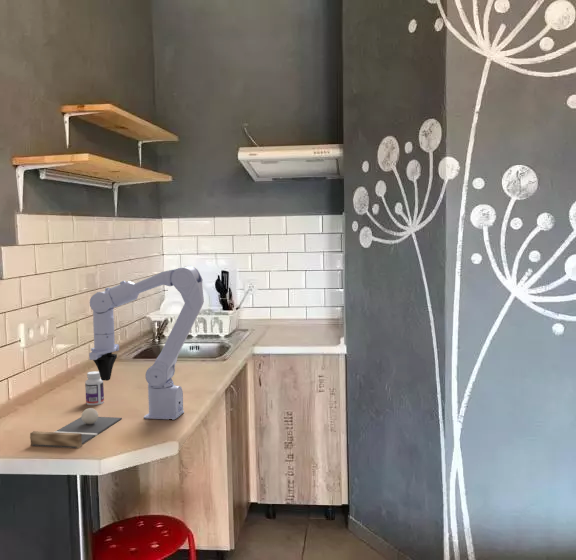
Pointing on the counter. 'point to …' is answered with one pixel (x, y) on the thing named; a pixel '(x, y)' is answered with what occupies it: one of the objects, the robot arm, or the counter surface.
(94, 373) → the pill bottle
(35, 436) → the backstop rail
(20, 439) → the counter surface
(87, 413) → the ball
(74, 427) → the lane
